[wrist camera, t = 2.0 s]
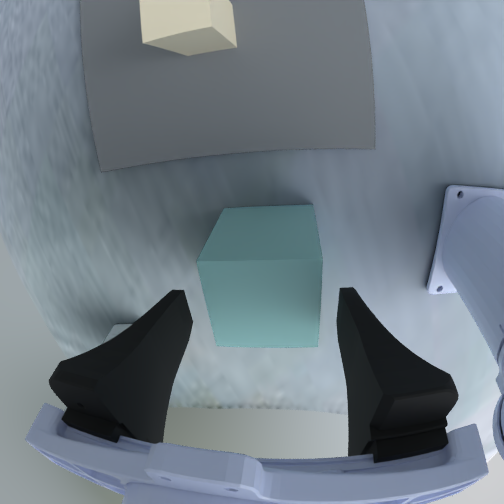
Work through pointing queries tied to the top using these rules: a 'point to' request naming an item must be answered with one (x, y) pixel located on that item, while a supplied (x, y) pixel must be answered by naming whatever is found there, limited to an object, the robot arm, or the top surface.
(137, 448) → the robot arm
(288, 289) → the mint green cube
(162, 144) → the post board
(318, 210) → the top surface
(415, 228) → the top surface
